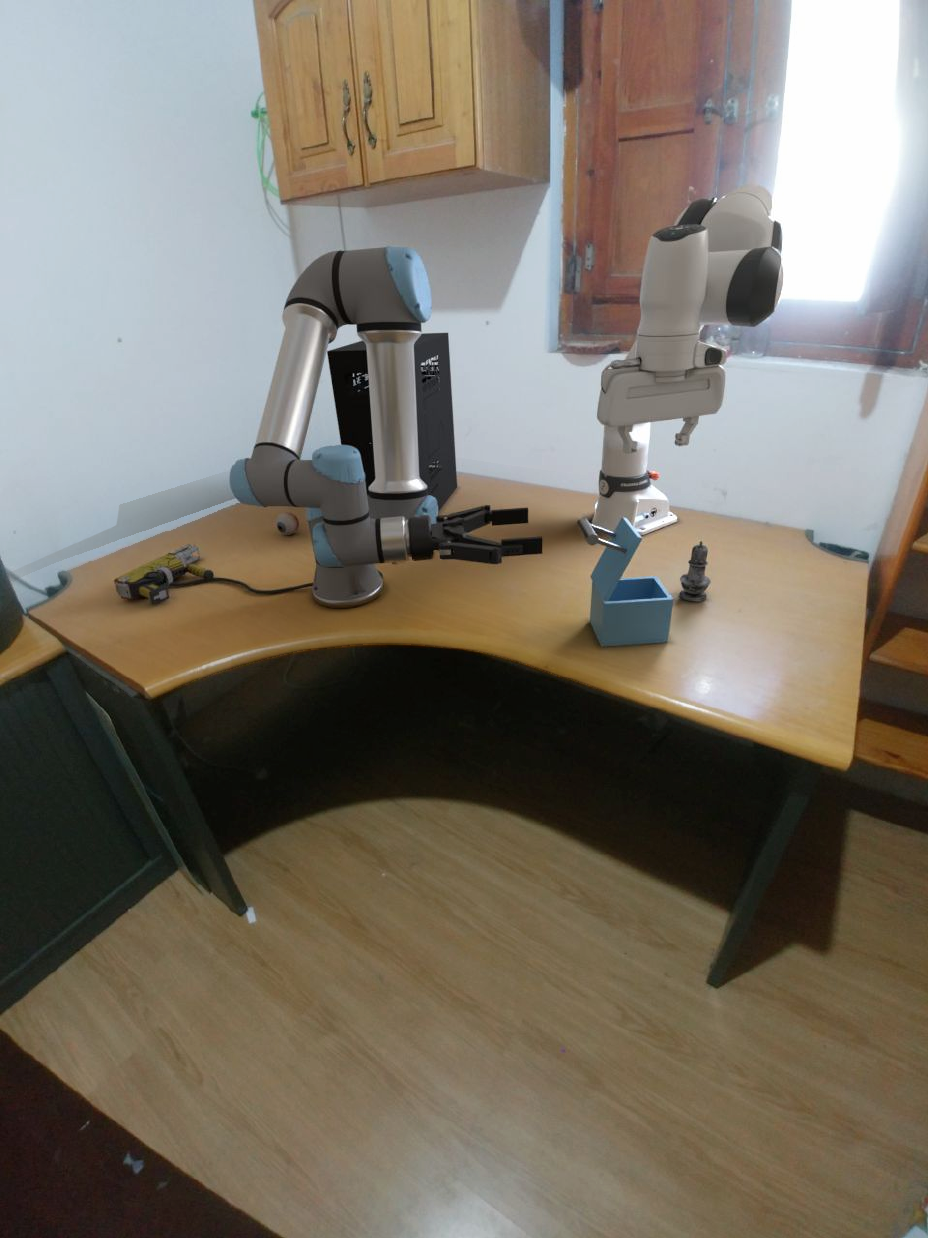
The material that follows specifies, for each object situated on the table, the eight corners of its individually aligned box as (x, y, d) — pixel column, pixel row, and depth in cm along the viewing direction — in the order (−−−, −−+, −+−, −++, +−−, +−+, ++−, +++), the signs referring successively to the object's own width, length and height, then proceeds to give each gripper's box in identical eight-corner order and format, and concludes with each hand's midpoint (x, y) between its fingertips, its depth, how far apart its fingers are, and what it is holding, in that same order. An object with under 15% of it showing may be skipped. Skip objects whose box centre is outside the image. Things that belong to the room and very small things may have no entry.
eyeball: (273, 537, 164) (268, 516, 161) (287, 528, 169) (282, 508, 166) (291, 539, 161) (286, 518, 158) (305, 530, 166) (301, 510, 163)
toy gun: (236, 552, 148) (186, 541, 152) (163, 592, 128) (107, 579, 132) (239, 569, 150) (189, 559, 154) (167, 611, 130) (112, 598, 134)
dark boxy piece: (424, 530, 162) (407, 348, 139) (353, 528, 166) (326, 351, 144) (457, 486, 193) (448, 332, 171) (397, 485, 198) (380, 334, 175)
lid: (626, 518, 107) (584, 502, 105) (642, 538, 99) (597, 521, 97) (594, 578, 112) (554, 564, 111) (607, 601, 104) (564, 587, 102)
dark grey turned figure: (710, 602, 120) (719, 547, 114) (679, 601, 121) (687, 546, 115) (706, 589, 125) (715, 535, 119) (676, 588, 126) (683, 534, 120)
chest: (651, 617, 117) (656, 575, 113) (667, 642, 109) (673, 599, 105) (589, 621, 117) (592, 580, 113) (601, 647, 109) (604, 603, 104)
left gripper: (411, 532, 113) (522, 523, 114) (410, 592, 92) (548, 581, 93) (407, 493, 110) (522, 485, 111) (405, 547, 88) (549, 536, 89)
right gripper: (613, 363, 84) (607, 462, 91) (737, 350, 89) (722, 445, 96) (592, 359, 89) (587, 452, 96) (710, 347, 94) (697, 436, 101)
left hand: (534, 529), depth 102 cm, fingers open, 13 cm apart
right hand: (655, 448), depth 96 cm, fingers open, 8 cm apart
